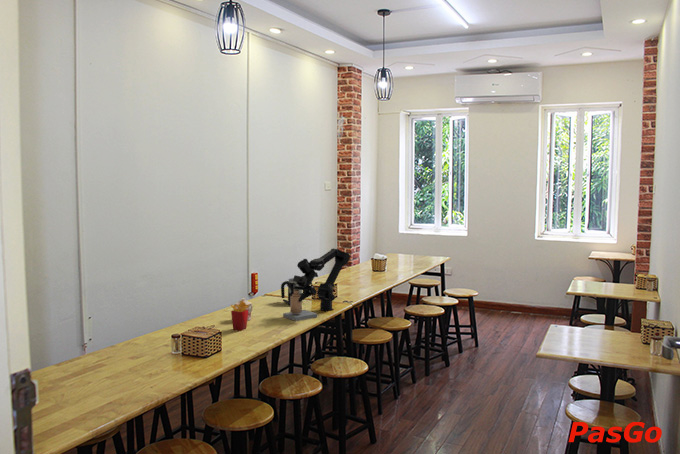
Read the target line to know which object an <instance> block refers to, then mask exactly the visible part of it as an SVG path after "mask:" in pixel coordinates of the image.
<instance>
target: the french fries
mask: <svg viewBox="0 0 680 454" xmlns="http://www.w3.org/2000/svg"><path fill="white" fill-rule="evenodd" d="M236 306H237V307H238V309H237V308H236ZM249 306H250V304H249V305H247V304H246V303H244V301H241V302H240V303H239V306H238V305H235V304H234V305H233V304H230V307H231V308H232V309H233V310H231V311H230V313H231V322H232V329H233V331H240V332H241V331H245V330H246V329H247V326H248V321H247V318H248V310H246V308H248V307H249ZM241 307H242V309H241Z"/></svg>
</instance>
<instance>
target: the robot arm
mask: <svg viewBox="0 0 680 454" xmlns="http://www.w3.org/2000/svg"><path fill="white" fill-rule="evenodd" d="M333 259H334V265H333V267H332V268H331V271H330V272H329V274H328V277H327V278H326V280H325V282H324V283H323V282H321V283H320V285H319V286H318V288H317V289H316V287H315V286H313V283H312V282H313V280H314V279H315V278H319V275H318V272H319V271H322V269H324V268H325V265H326V264H327V263H329V262H331V260H333ZM350 259H351V255H350V254H349V252H345V251H342V250H340V248H331V249H330V250H329V251H327V252H325V254H323V255H321V256H320V257H318V258H313V259H311V260H310V261H308V258H303V259H302V260H300V261H299V262H297V267H298V269H299V270H300V272H301V273H302V274H303V275H301V276H300V275H296V274H295V275H294V276H293V277H292V278H293V281H295V282H297V284H298V286H297V285H296V284H295V283H292V282H289V283H288V284H286V286H287V288H288V287H289V289H290V290H291V294H290V296H292V294H294V290H293V289H299V290H302V295H301V296H300V298H299V300H298V301H299V302H301V301H302V302H303V301H304V300H305V299H307V298H309V297H312V296H316V295H317V297H318V300H320V302H319V303H320V306H319V307H320V308H319V310H320V311H323V312H330V311H334V310H335V309H334V308H333V301H335V299H336V296H335V294H334V293H333V292H334V288H333V287H334V284H335V282H336V280H337V278H338V276H339V275H340V273H341V270H342V268H343V267H344V266H346V265H347V264H348V262H349V261H350ZM316 271H318V272H316Z"/></svg>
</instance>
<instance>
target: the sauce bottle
mask: <svg viewBox="0 0 680 454" xmlns="http://www.w3.org/2000/svg"><path fill="white" fill-rule="evenodd" d="M293 290H294V294H292V296H290V305H289V306H290V311H289V312H291V313H301V312H302V310H303V300H302V301H301V302H299V301H298V300H299V298H300V296H301V295H300V294H299V289H293Z"/></svg>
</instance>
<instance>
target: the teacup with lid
mask: <svg viewBox="0 0 680 454" xmlns="http://www.w3.org/2000/svg"><path fill="white" fill-rule="evenodd" d="M241 301H244V303H246V304H247V305H249V304H250V306H249V307H248V308H246V310H248V318H247V322H248V321H250V320H252V311H253V305H252V302H251V301H248V300H246V298H244V297H242V298H241V300H239V301H237V302H235V305H238V306H239V303H240V302H241ZM236 308H237V309H238V307H237V306H236ZM241 309H242V307H241Z"/></svg>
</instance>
